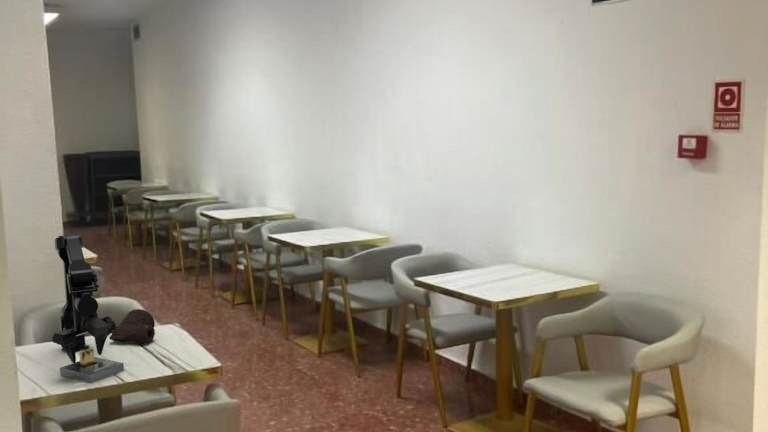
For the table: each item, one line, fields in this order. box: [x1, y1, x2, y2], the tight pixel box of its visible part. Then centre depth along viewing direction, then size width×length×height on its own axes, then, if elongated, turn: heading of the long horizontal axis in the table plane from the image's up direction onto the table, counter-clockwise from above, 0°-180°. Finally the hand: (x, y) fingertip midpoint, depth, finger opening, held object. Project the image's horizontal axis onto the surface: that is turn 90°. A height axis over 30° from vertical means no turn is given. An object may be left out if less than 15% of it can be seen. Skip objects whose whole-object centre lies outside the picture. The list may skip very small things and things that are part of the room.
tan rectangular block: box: [78, 347, 95, 368], centre depth 224 cm, size 4×4×7 cm
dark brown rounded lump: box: [108, 308, 156, 346], centre depth 258 cm, size 10×15×15 cm
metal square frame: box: [59, 356, 125, 384], centre depth 224 cm, size 14×12×3 cm
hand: (87, 358), depth 224 cm, fingers open, 9 cm apart
